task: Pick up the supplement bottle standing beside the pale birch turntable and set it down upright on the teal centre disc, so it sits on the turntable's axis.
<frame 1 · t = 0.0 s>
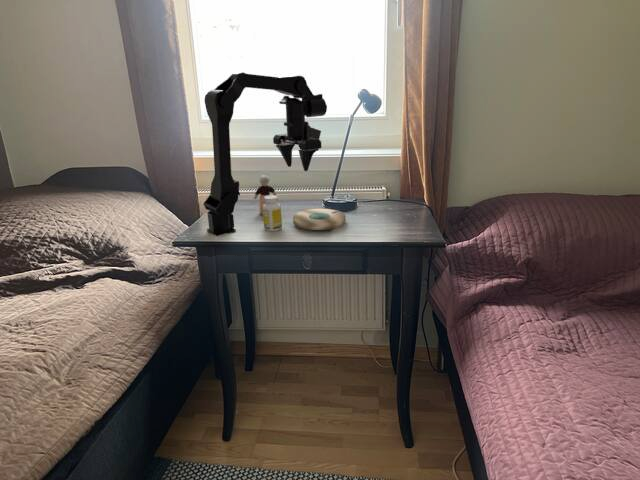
hand: (297, 168, 147), 15 cm above the table, fingers open, 9 cm apart
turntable: (319, 219, 140), point 1 cm above the table, hinge at 0.0°
grandmother figurine: (266, 213, 153), on the table
supplement bottle: (273, 229, 138), on the table
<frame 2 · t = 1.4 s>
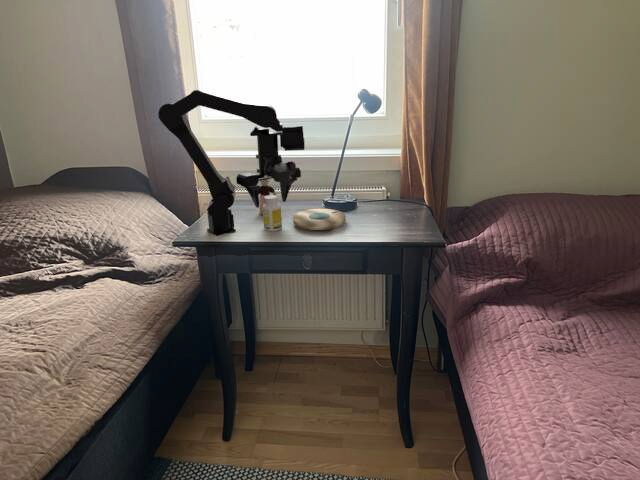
hand: (271, 204, 135), 7 cm above the table, fingers open, 9 cm apart
nothing on the table moved.
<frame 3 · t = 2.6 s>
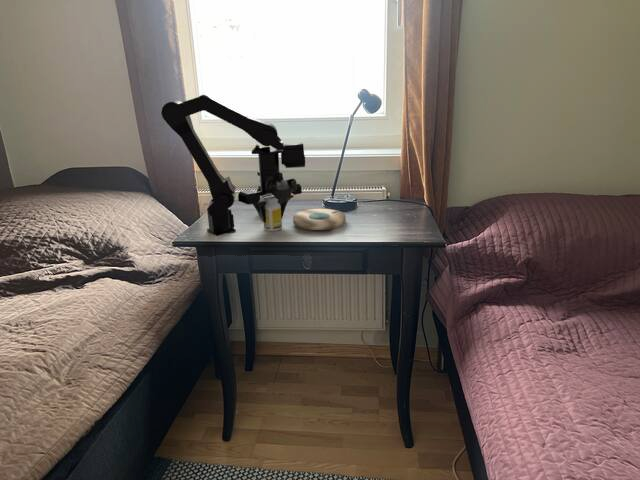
hand: (272, 220, 137), 3 cm above the table, fingers closed on supplement bottle, 5 cm apart
supplement bottle: (273, 229, 138), on the table, touching gripper
everything else where it was.
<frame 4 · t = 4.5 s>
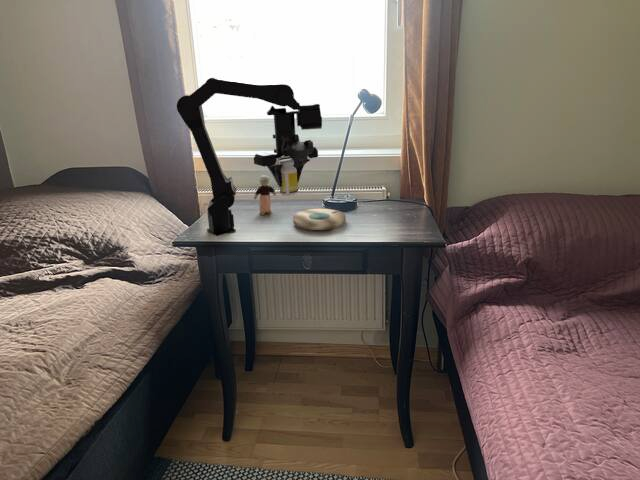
hand: (288, 185, 134), 13 cm above the table, fingers closed on supplement bottle, 5 cm apart
supplement bottle: (289, 194, 135), point 10 cm above the table, touching gripper
everything else where it was.
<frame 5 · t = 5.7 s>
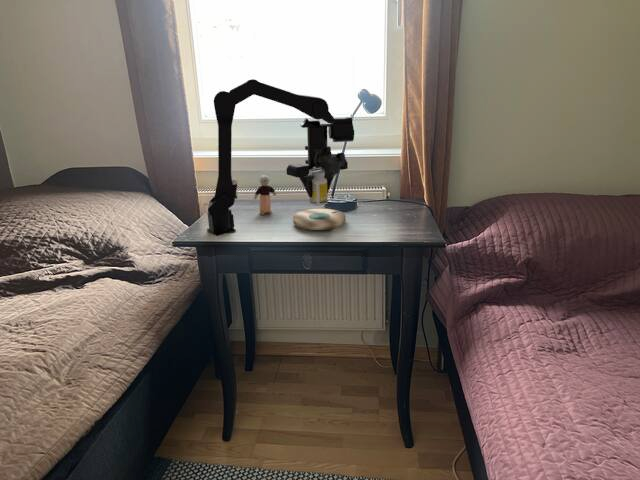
hand: (318, 195, 138), 9 cm above the table, fingers closed on supplement bottle, 5 cm apart
supplement bottle: (318, 204, 138), point 6 cm above the table, touching gripper
everything else where it was.
when the fingers open (7 cm above the table, at t = 6.6 s): supplement bottle drops 1 cm, resting on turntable.
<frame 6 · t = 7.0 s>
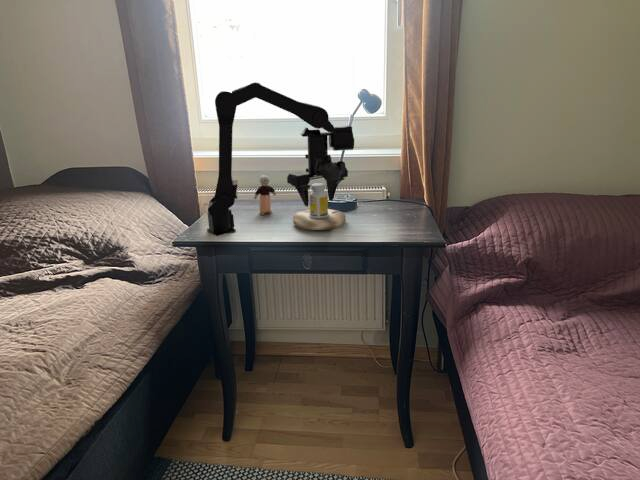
hand: (318, 203, 138), 7 cm above the table, fingers open, 9 cm apart
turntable: (319, 219, 140), point 1 cm above the table, hinge at 0.0°, touching supplement bottle
supplement bottle: (319, 216, 140), point 2 cm above the table, touching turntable
everything else where it was.
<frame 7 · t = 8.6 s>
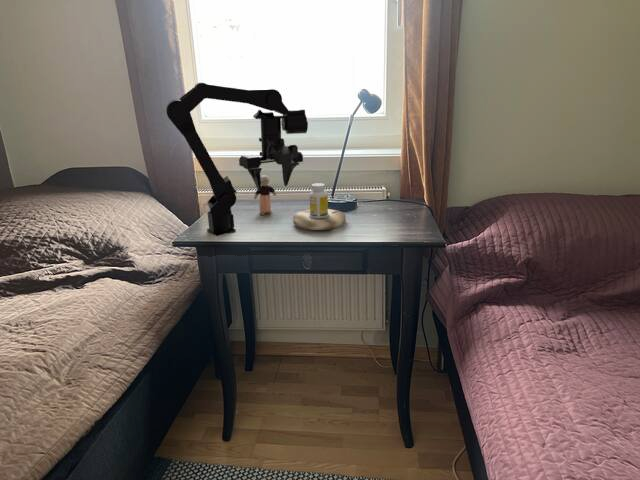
hand: (272, 187, 137), 12 cm above the table, fingers open, 9 cm apart
nothing on the table moved.
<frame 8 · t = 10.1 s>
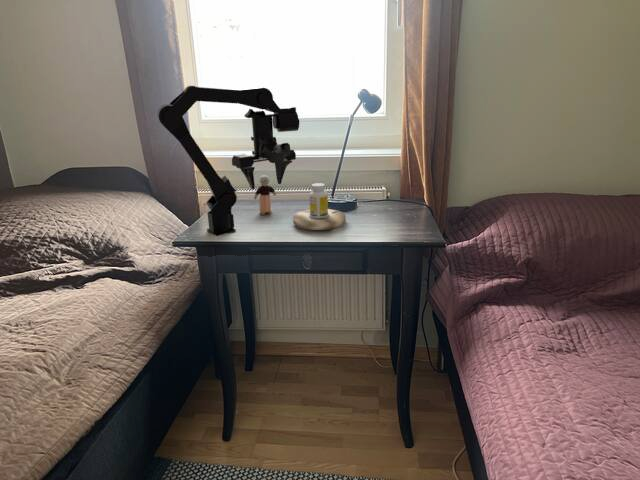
hand: (266, 186, 137), 12 cm above the table, fingers open, 9 cm apart
nothing on the table moved.
at the end: supplement bottle 0.1 cm from the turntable (horizontally); supplement bottle tilted 0°; supplement bottle touching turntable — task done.
